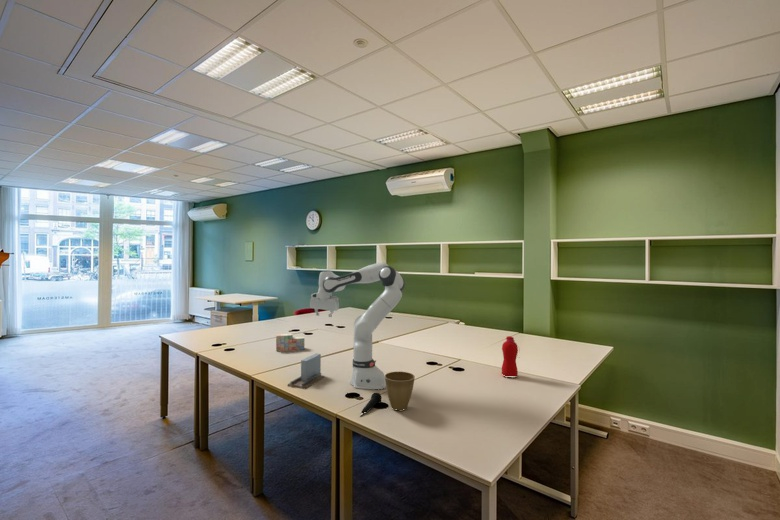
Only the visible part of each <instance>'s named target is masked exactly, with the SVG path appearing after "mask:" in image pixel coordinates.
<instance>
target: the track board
mask: <svg viewBox="0 0 780 520" xmlns="http://www.w3.org/2000/svg"><path fill="white" fill-rule="evenodd" d="M323 377H324V378H325V376H324V375H322V372H321V373H319V374H317V375H316V376H314V377H312V378H310V379H309V380H307V381H301V375H300V376H299V377H296V378H295V379H293V380H292V381H290V382H289V383H288V384H287V387H291V386H292V388H299V389H304V388H305V389H308V388H309V387H311V386H313V385H314V384H315V382H316V383H318V382H319V381H320V379H321V380H322V379H324V378H323ZM312 384H313V385H312Z"/></svg>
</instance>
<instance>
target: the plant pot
mask: <svg viewBox="0 0 780 520" xmlns="http://www.w3.org/2000/svg"><path fill="white" fill-rule="evenodd" d="M384 376H385V383H386V387H385V389H386V393H387V398H388V401H389V404H390V407H391V409H392V408H393V409H397V410H403V409H406V410H407V408H408V406H409V403H410V400H411V397H412V393H413V389H414V384H415V380H416V379H415V375H414V374H412V373H411V372H407V371H391V372H388V373H386V374H384ZM393 409H392V410H393ZM403 411H404V410H403Z"/></svg>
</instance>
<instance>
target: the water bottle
mask: <svg viewBox="0 0 780 520" xmlns="http://www.w3.org/2000/svg"><path fill="white" fill-rule="evenodd" d="M505 339H506V340H505V341H504V342H503V344H502V347H501V350H502V357H503V361H502V366H501V375H502V374H503V375H505V376H517V377H518V371H519V370H518V366H517V362H516V361H517V358H518V357H519V356H518V352H519V346H518V344H517V343H516V341H515V340H514V339H515V338H514V337H513V336H506V338H505Z"/></svg>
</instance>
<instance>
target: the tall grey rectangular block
mask: <svg viewBox="0 0 780 520" xmlns="http://www.w3.org/2000/svg"><path fill="white" fill-rule="evenodd" d="M321 356H322V355H321V353H314V354H311V355H310V356H308V357H305V358H303V359H301V360H300V376H301V381H307V380H309V379H310V378H312V377H314V376H316V375H317V374H319V373H321V374H322V372H321V366H322V365H321V362H322V361H321V360H322V359H321V358H322V357H321Z"/></svg>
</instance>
